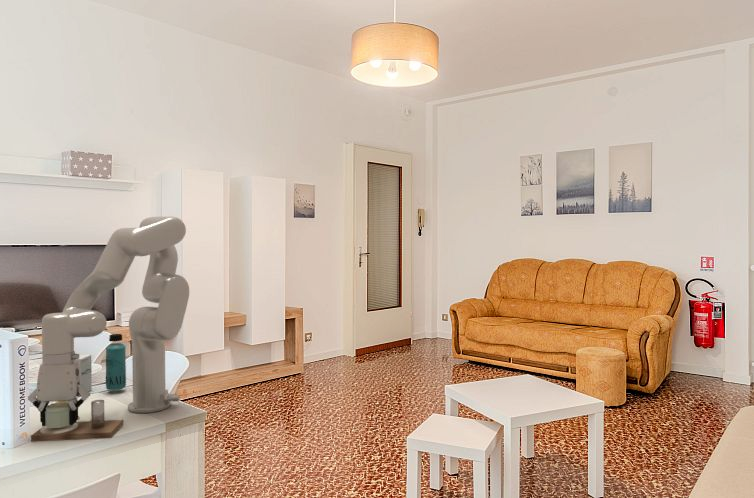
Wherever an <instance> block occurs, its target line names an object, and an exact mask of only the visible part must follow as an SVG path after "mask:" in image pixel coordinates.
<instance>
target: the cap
mask: <svg viewBox="0 0 754 498" xmlns="http://www.w3.org/2000/svg"><path fill="white" fill-rule="evenodd" d="M70 410H71V407H70V405H69V403H68V402H62V403H56V402H55V403H49V404H48V406H47V407H46V411H45V426H46V427H48V428H61V427H65V426H69V425H70V424H69V411H70Z"/></svg>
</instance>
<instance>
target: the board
mask: <svg viewBox="0 0 754 498" xmlns="http://www.w3.org/2000/svg"><path fill="white" fill-rule="evenodd" d="M104 421H105V426H104V427H102V428H97V429H93V428H92V421H91V420H87V421H85V420H83V421H76V422H75V423H74V424H73V425H69V426H65V427H61V428H48V427H46V426H41V427H40V428H39V429H38V430H36V431H35V432H34V433H32V434H31V435H30V442H42V441H43V442H44V441H45V442H46V441H47V442H49V441H66V440H67V441H69V440H90V439H89V438H95V439H111V438H112V437H113V436H114V435H115V434H116V433H117V432H118V431H120V429H121V428H122V427H123V426H122V425H124V419H111V420H110V419H109V420H108V419H107V420H106V419H104ZM121 426H122V427H121ZM120 427H121V428H120ZM119 428H120V429H119Z"/></svg>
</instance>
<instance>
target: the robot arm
mask: <svg viewBox="0 0 754 498" xmlns="http://www.w3.org/2000/svg"><path fill="white" fill-rule="evenodd" d="M186 232H187V228H186V225H185V223H184V221H183V220H182V219H181V218H178V217H176V216H150V217H146V218H144V219H143V220H141V221H140V224H139V226H138V227H122V228H121V227H120V228H118V229H116V230H115V231H114V232H113V233H112V234H111V235H110V238H109V239H108V241H107V244H106V245H105V246H104V249H103V251H102V253H101V255H100V257H99V259H98V262H97V263H96V265H95V267H94V269H93V270H92V272H91V273H90V274H89V275H88V276H86V277H85V278H84V279H83V281H82V282H81V283H80V284H79V285H78V286H77V287H76V288H75V289H74V291H72V292H71V293H72V294H70V295H69V296H70V297H69V298H68V300H67V302H66V304H65V306H64V307H63V310H62V312H53V313H51V312H50V313H47V314H44V315H43V317H42V318H41V341H42V342H41V349H42V351H41V352H42V354H41V357H42V359H41V360H42V361H41V362H42V363H41V364H40V365H39V368H38V373H37V380H36V381H37V382H36V388H35V389H34V390H33V391H32V392H31V393H29V395H28V396H27V397H28V399H27V401H29V402H30V403H32V405H33V406H34V407H35V408H36V409H37V411H38V412H39V413H40V414H39V418H40V420H39V421H40V423H41V427H43V426H45V411H46V407H47V406H49V405H50V402H57V401H68V403H69V405H70V407H71V410H70V411H69V424H70V425H73V424H74V423H75V422H78V420H79V419H78V416H79V408H80V407H81V405H83V403H84V402H86V400H87V399H88V398H89V397H90V396H91V394H90V391H89V392H87V391H86V390H85V389H84V388H83V387H82V385H81V376H80V370H79V365H78V362H76V361H74V360H75V359H79V355H80V353H76V351H75V339H76V338H93V337H96V336H99V335H101V334H102V333H103V332H104V331H105V329H106V327H107V323H108V322H107V318H106V316H105V315H104V314H103V313H102V312H100V311H98V310H93V309H92V308H93V307H94V305H95V304H96V302H97V301H98V300H99V299H100V298H101V297H103V295H105V294H106V293H108V292H110V291H111V290H114V289H115V288H117V287H119V286H120V285H122V284H123V283H124V281H125V278H126V276H127V274H128V272H129V270H130V268H131V266H132V264H133V262H134V259H135V257H146V256H149V261H148V265H147V268H146V272H145V273H146V274H145V277H144V281H143V284H142V289H141V295H142V297H143V298H144V299H145V300H146V301H147V302H149V303H153V304H154V303H155V304H158V306H157V307H156V306H155V307H154V306H140V307H139V308H136V309H135V310H134V311H133V312H132V313H131V315H130V316H129V319H128V329H129V336H130V340H131V346H132V347H131V349H132V350H131V351H132V358H131V359H132V401H131V402H130V403H129V404H128V405H127V410H128V411H129V412H131V413H135V414H139V413H140V414H146V413H147V414H148V413H155V412H159V411H162V410H166V409H168V408H170V406H171V405H172V402H179V401H180V399H181V398H180V394H178V393H170V392H169V389H166V347H165V342H164V341H169V340H172V339H174V338H175V337H177V336H178V335H179V333H180V331H181V329H182V326H183V323H184V319H185V316H186V315H185V314H186V311H187V306H188V302H189V297H190V286H189V285H190V284H189V283H188V281H187V280H186V278H185V277H183V276H182V275H180V274H177V268H178V267H177V266H178V262H179V257H178V256H179V255H178V250H177V248H176V246H175V245H177V244H179V243H180V242H182V241H183V239H184V238H185V237H186ZM79 395H81V396H79ZM78 397H80V399H79V400H78Z"/></svg>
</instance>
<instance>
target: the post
mask: <svg viewBox="0 0 754 498" xmlns="http://www.w3.org/2000/svg"><path fill="white" fill-rule="evenodd" d="M90 405H91V406H90V408H91V410H90V413H91V420H90V421H92V428H93V429H97V428H102V427H104V426H105V399H96V400H92V401H91V402H90Z"/></svg>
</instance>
